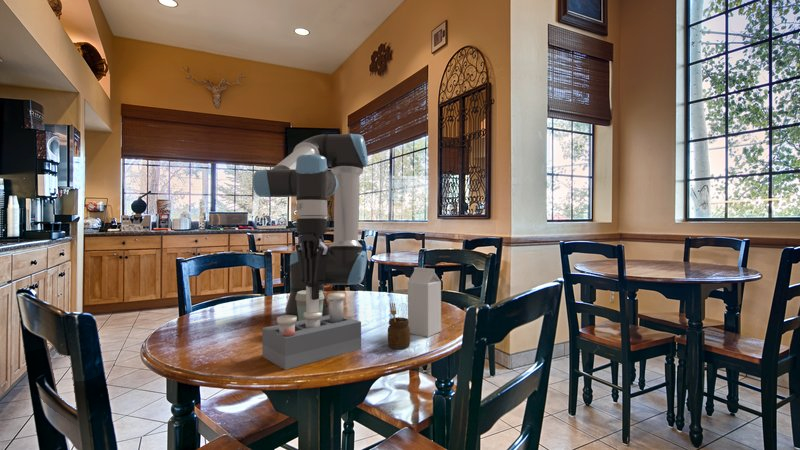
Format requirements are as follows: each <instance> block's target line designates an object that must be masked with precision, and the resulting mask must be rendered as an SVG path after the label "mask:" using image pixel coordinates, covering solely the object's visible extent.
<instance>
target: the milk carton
mask: <svg viewBox="0 0 800 450" xmlns="http://www.w3.org/2000/svg"><path fill="white" fill-rule="evenodd" d="M413 270H414V271H412V272H413V273H412V274H411V275H410V278H409V279H408V281H407V319H408V321H409V324H408V326H409V328H410V335H411V334H412V335H417V336H422V337H427V338H429V337H432V336H433V335H436V334H438V333H440V332H442V280H441V279H440V278H439V276H438V275H437V274H436V272H435V268H429V267H428V268H426V267H417V266H416V267H414V268H413Z"/></svg>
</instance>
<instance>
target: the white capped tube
mask: <svg viewBox="0 0 800 450" xmlns="http://www.w3.org/2000/svg"><path fill="white" fill-rule="evenodd" d="M297 321H298V319H297V316H295V315H281V316H278V317H276V324H278V325H279V333H281V334H284V330H285V329H288V328H293V329H295V322H297Z"/></svg>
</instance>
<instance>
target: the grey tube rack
mask: <svg viewBox="0 0 800 450" xmlns="http://www.w3.org/2000/svg"><path fill="white" fill-rule="evenodd" d="M261 328H262V330H261V336H262V343H261V344H262V348H261V349H262V357H263V358H264V359H266V360H268V362H271V363H272V364H274V365H276V366H278V367H280V368H282V369H283V370H285V371H287V370H290V369H293V368H297V367H300V366H301V367H302V366H304V365H308V364H312V363H315V362H319V361H322V360H326V359H329V358H333V357H334V358H335V357H336V356H337V357H338V356H340V355H345V354H348V353H351V352H355V351H358V350H361V349H362V321H359V320H356V319H353V318H350V317H347V316H343V321H341V322H337V323H331V322H330V314H327V315H325V316H322V317H321V318H320V326H318V327H313V328H308V329H306V320H301V321H299V320H297V322H295V329H293V328H288V329H285V330H284V334H281V333H279V324H276V325H272V326H271V325H270V326H266V327H265V326H264V327H261Z"/></svg>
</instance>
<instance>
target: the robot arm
mask: <svg viewBox="0 0 800 450" xmlns="http://www.w3.org/2000/svg"><path fill="white" fill-rule="evenodd" d="M366 146H367V145H366V142H365V139H364V136H363V135H362V134H358V133H356V134H355V133H345V134H344V133H340V134H338V133H336V134H335V133H334V134H325V133H324V134H319V135H318V134H317V135H314V136H311V137H309V138H307V139H305V140H302V141H301V142H299V143H298V144H296V145H295V147H294V148H293V150H292V152H291V153H290V154H288V155H287V156H286V157H284V159H282V160H281V161H280V162H279V163H277V164H276V165H275V166H274V167H272V168H271V169H267V168H264V169H258V170H256V171H255V172H254V174H253V175H252V176H253V178H252V187H253V191H254V193H255V194H256V195H257V197H264V198H292V197H293V198H294V197H295V198H296V204H295V208H296V216H297V217H299V218H297V219H296V233H297V234H300V235H301V237H300V243H299V244H295V251H292V252H291V253H290V256H289V257H290V258H289V280H290V281H289V284H290V285H289V288H290V289H289V290H290V292H289V296H288V300H287V303H286V305H285V309H284V311H285V315H295V316H297V320H299V319H298V311H297V302H296V300H295V298H296V295H297V292H299V291H303V290H306V312H307V313H314V312H319V290H321V291H323V294H324V297H325V298H324V300H323V310H322V316H327V315H330V313H329V301H328V299H327V296H326V294H325V285H331V286H332V285H338V286H339V285H346V286H350V285H359V284H361V283H362V282H363V281H364V277H365V274H366V269H367V263H368V262H367V261H368V260H367V259H368V257H367V256H368V255H367V254H368V253H367V251H365V250H363V245H362V244H361V243H360V242H359V213H360V212H359V203H360V201H359V199H360V195H359V193H360V189H359V188H360V187H359V186H360V176H361V175H362V174H363V173H364V168H366V167H368V166H369V163H368V162H369V159H368V153H367V147H366ZM329 167H330V170H328V168H329ZM333 195H334V215H333V217H334V218H333V219H334V220H333V221H334V222H333V224H334V225H333V242H332V243H331V244H330V245H325V239H324V234H327V233H328V219H327V218H326V217H327V216H328V198H330V197H332V196H333Z"/></svg>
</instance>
